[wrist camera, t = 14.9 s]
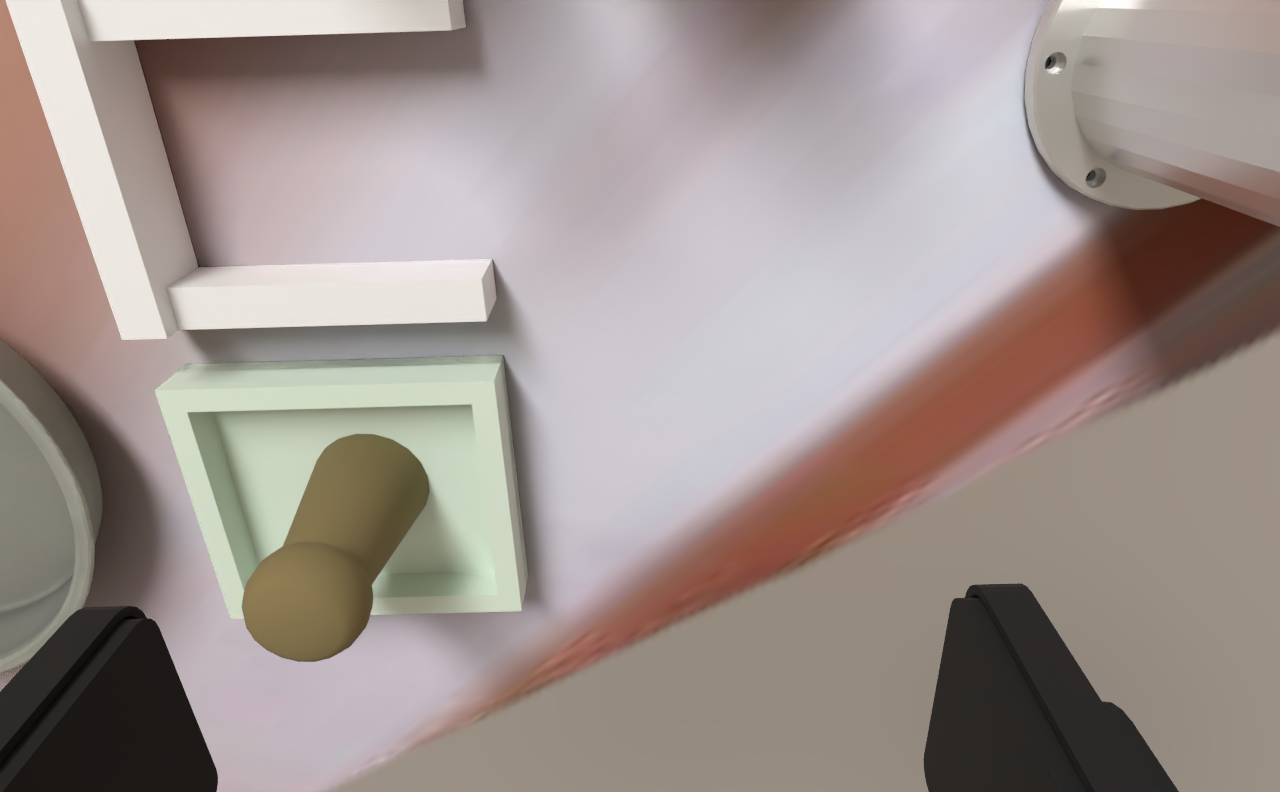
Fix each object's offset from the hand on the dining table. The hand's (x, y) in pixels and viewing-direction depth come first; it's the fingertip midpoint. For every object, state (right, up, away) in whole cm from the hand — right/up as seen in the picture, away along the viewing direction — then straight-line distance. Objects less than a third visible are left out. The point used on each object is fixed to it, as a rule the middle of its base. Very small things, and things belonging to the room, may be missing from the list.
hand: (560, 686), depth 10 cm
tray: (-14, -1, +34) cm, 37 cm away
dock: (-13, +14, +26) cm, 33 cm away
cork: (-13, -1, +33) cm, 36 cm away
